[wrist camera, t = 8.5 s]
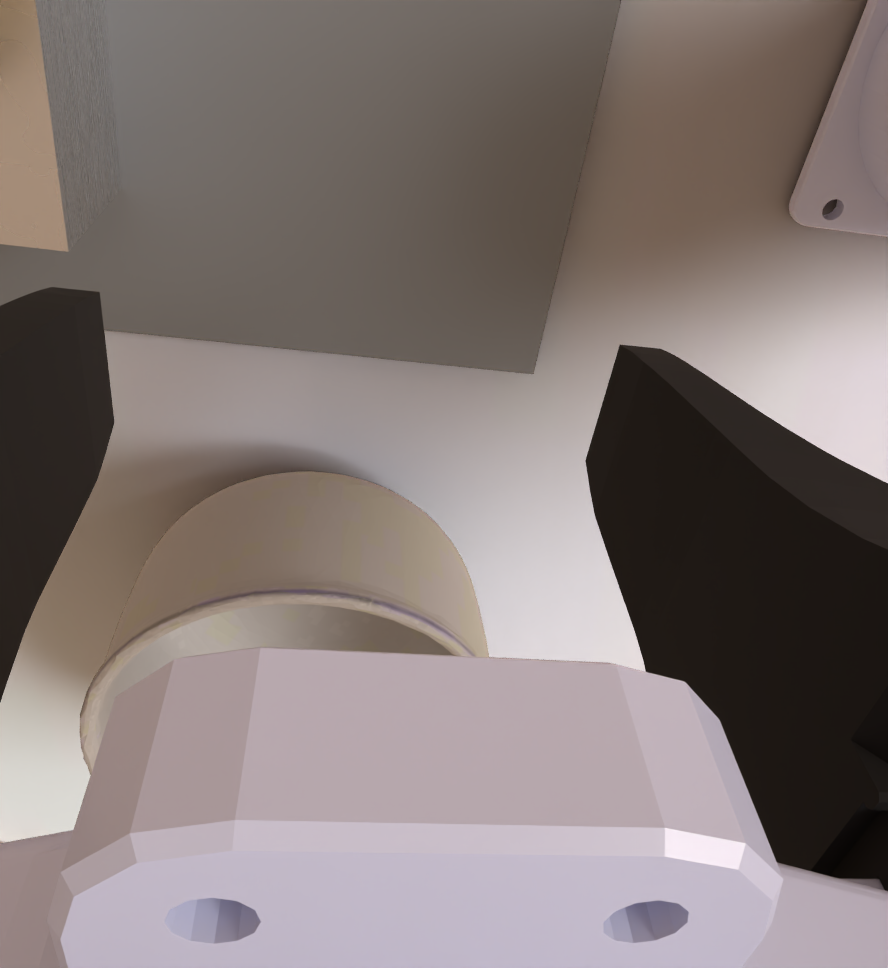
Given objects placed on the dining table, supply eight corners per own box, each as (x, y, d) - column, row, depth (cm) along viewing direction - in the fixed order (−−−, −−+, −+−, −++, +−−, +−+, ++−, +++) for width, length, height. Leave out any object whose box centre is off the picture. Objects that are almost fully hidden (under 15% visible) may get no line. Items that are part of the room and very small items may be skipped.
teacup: (79, 529, 26) (-21, 742, 20) (347, 351, 23) (329, 539, 17) (350, 739, 34) (341, 945, 27) (584, 627, 30) (635, 832, 24)
